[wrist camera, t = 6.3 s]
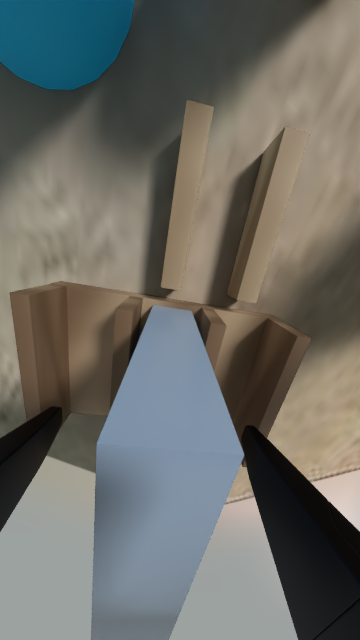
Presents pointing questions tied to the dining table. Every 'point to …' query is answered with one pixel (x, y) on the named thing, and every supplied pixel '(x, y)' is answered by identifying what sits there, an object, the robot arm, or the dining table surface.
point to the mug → (62, 39)
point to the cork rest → (263, 210)
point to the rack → (120, 343)
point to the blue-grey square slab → (159, 480)
